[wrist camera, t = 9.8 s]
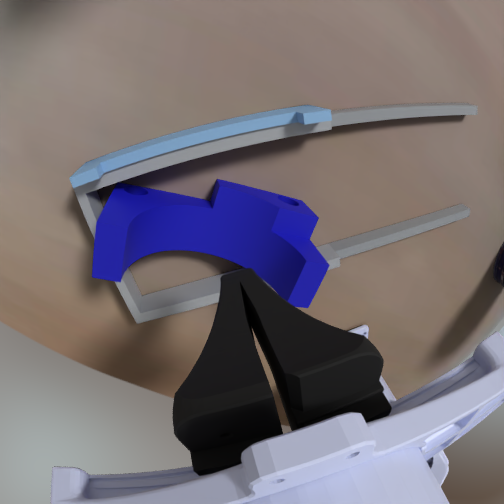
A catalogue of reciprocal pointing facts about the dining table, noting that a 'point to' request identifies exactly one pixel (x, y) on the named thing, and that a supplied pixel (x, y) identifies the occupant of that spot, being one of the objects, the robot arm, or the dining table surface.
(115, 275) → the blue arched bracket
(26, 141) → the dining table surface
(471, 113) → the grey u-shaped frame
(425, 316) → the dining table surface
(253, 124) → the light blue long bar
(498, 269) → the storage jar
